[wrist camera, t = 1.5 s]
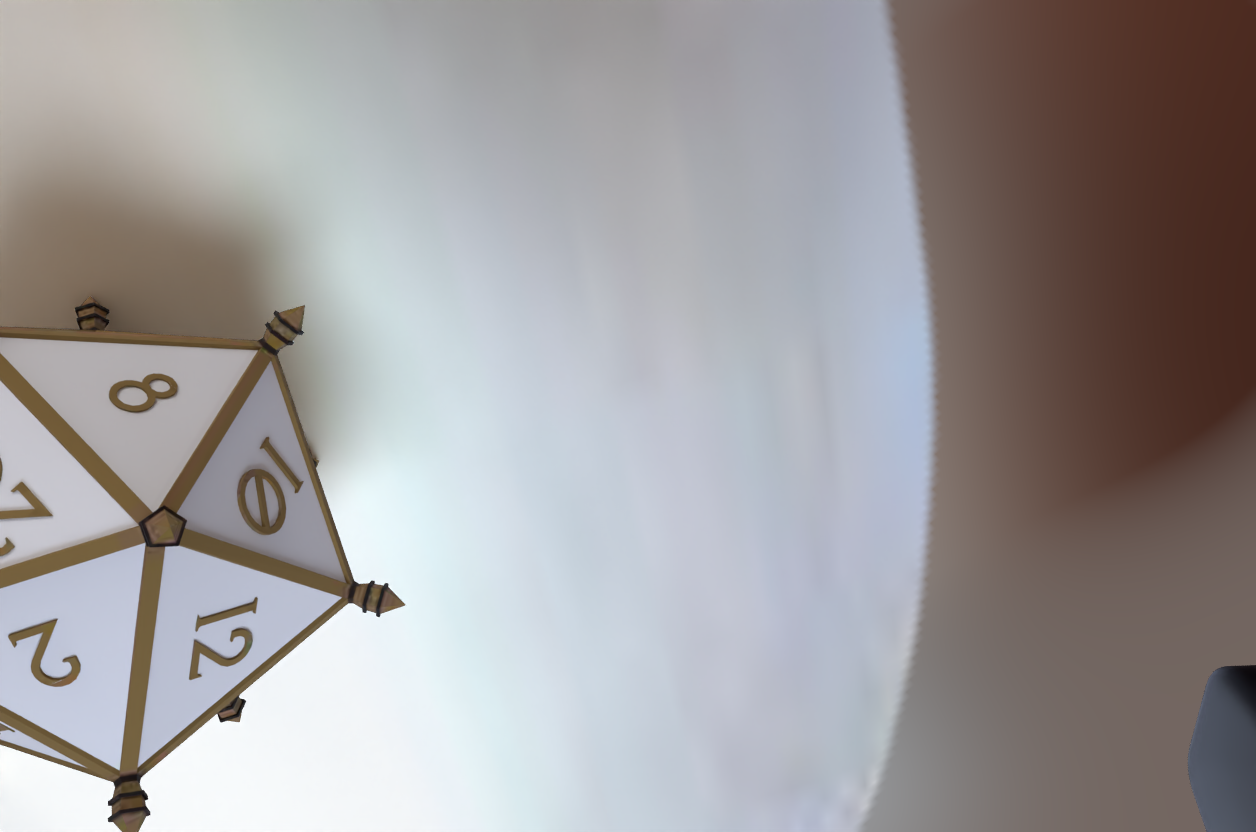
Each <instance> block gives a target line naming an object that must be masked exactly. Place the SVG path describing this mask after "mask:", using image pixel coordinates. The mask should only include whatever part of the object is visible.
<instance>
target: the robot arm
mask: <svg viewBox="0 0 1256 832" xmlns="http://www.w3.org/2000/svg"><path fill="white" fill-rule="evenodd" d="M1188 772H1189V778H1190V783H1191V787H1192V790H1193V793H1194V796H1195V799H1196V802H1197V805H1198V808H1199V811H1200V814H1201V817H1202V820H1203V823H1204V826H1205V829H1206V832H1256V665H1250V666H1225V667H1221V668H1219V669H1217V670H1215V671H1214V672H1213V673H1212V675H1211V676H1210V677H1209V679H1208V682H1207V684H1206V688H1205V691H1204V695H1203V699H1202V703H1201V707H1200V710H1199V714H1198V718H1197V721H1196V725H1195V729H1194V733H1193V737H1192V740H1191V744H1190V748H1189V754H1188Z"/></svg>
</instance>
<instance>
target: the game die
mask: <svg viewBox="0 0 1256 832" xmlns="http://www.w3.org/2000/svg"><path fill="white" fill-rule="evenodd" d="M304 308H305V305H304V306H300V307H297V308H293V309H290V310H287V311H283V312H280V313H279V312H277V311H275V312H274V314H275V318H274V319H273V320H272V321H271V323H268V322H267V323H266V324H265V325H266V327H267V329H266V332H265V334H264V337H263V338H262V339H260V340H259V341H255V340H240V339H224V338H209V337H193V336H178V335H162V334H147V333H131V332H116V331H104V328H105V327H106V326H107V325H108V324H109V320H108V319H106V316H107V314H108V313H109V310H108V309H106V308H104V307H102V306H101V305H100V304H99V303H98V302H97V301H95V300H94V299H93V298H92V297H91V296H90V297H89V298H88V299H87V300H86V301H85V302H84V303H83V304H82V305H81V306H79V307H76V308H75V311H76V313H77V316H78V318H77V322H78V325H79V328H80V330H77V329H51V328H24V327H0V744H1V745H4V746H7V747H10V748H13V749H16V750H19V751H22V752H25V753H28V754H31V755H34V756H37V757H39V758H42V759H45V760H48V761H51V762H54V763H57V764H60V765H63V766H66V767H69V768H72V769H75V770H78V771H81V772H84V773H87V774H90V775H93V776H96V777H99V778H102V779H105V780H108V781H111V782H114V785H115V791H114V794H113V798H112V799H111V800H110V801H108V806H112V816H110V817H109V818H108V822H114V823H115V824H116V826H117V827H118V828H119V829H120V830H121V831H122V832H138V831H139V829H140V827H141V825H142V823H143V821H144V819H145V818H146V816H149V815H150V811H149V810H148V808H147V807H146V805H145V800H147V799H148V796H147V794H146V793H145V791H144V790H142V789H141V787H140V784H139V783H140V779H141V777H142V776H143V775H144V774H146V773H147V772H148V771H149V770H150V769H152V768H153V767H154V766H155V765H156V764H158V763H159V762H160V761H161V760H162V759H164V758H165V757H166V756H167V755H168V754H169V753H171V752H172V751H173V750H174V749H175V748H177V747H178V746H179V745H180V744H181V743H183V742H184V741H185V740H186V739H187V738H188V737H190V736H191V735H192V734H193V733H194V732H196V731H197V730H198V729H199V728H200V727H202V726H203V725H204V724H205V723H206V722H207V721H209V720H210V719H211V718H212V717H213V716H215V715H216V714H218V717H219V720H220V722H224V721H234V722H240V718H241V713H242V709H243V707H244V705H245V703H246V701H245V700H244V699H240V698H239V695H240V694H241V693H242V692H243V691H244V690H246V689H247V688H248V687H249V686H250V685H251V684H253V683H254V682H255V681H256V680H257V679H259V678H260V677H261V676H262V675H263V674H265V673H266V672H267V671H268V670H269V669H271V668H272V667H273V666H274V665H275V664H276V663H278V662H279V661H280V660H281V659H282V658H284V657H285V656H286V655H287V654H288V653H290V652H291V651H292V650H293V649H294V648H295V647H297V646H298V645H299V644H300V643H301V642H303V641H304V640H305V639H306V638H307V637H309V636H310V635H311V634H312V633H313V632H314V631H316V630H317V629H318V628H319V627H320V626H322V625H323V624H324V623H325V622H326V621H328V620H329V619H330V618H331V617H332V616H334V615H335V614H336V613H337V612H338V611H339V610H341V609H342V608H343V607H344V606H345V605H347V604H348V603H354V604H355V605H357V606H359V607H361V608H362V610H363V612H364V613H366V611H367V610H368V611H371V612H375V613H376V616H377V617H380V614H381V613H384V612H387V611H390V610H393V609H396V608H399V607H402V606H405V604H404V603H403V602H402V601H401V600H400V599H399V598H398V597H397V596H396V595H395V594H394V593H393V592H392V591H391V589H390V588H389V587H388V583H385V584H384V586H383V585H377V584H374V583H375V581H371V582H370V583H368V584H358V583H356V582H355V581H354V579H353V576H352V573H351V570H350V567H349V564H348V561H347V559H346V556H345V553H344V550H343V547H342V544H341V541H340V538H339V535H338V532H337V529H336V526H335V523H334V520H333V517H332V514H331V511H330V509H329V506H328V503H327V500H326V497H325V494H324V491H323V488H322V485H321V482H320V479H319V476H318V473H317V470H316V467H317V465H318V463H319V460H317V459H315V458H313V457H312V456H311V453H310V450H309V447H308V444H307V441H306V438H305V435H304V432H303V429H302V426H301V423H300V420H299V417H298V414H297V412H296V409H295V406H294V403H293V400H292V397H291V394H290V391H289V388H288V385H287V382H286V379H285V376H284V373H283V370H282V367H281V365H280V362H279V359H278V356H277V354H278V352H279V350H280V349H282V348H283V347H285V346H287V345H293V343H294V342H293V341H292V340H293V339H294V338H295V337H296V336H297V335H302V334H303V333H304V332H303V331H302V323H303V315H304Z"/></svg>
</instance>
